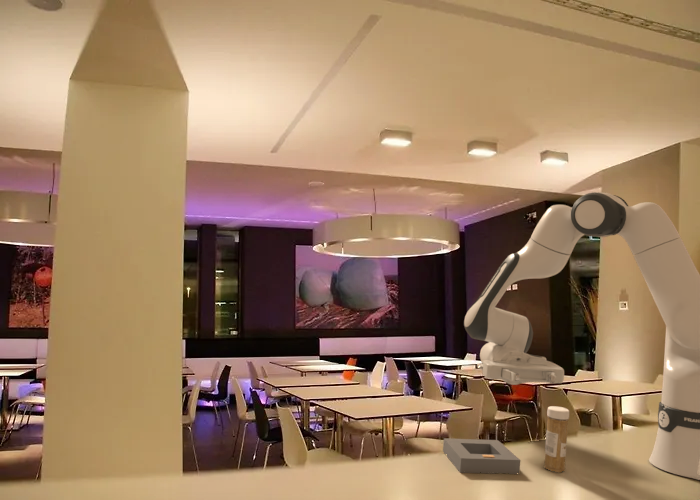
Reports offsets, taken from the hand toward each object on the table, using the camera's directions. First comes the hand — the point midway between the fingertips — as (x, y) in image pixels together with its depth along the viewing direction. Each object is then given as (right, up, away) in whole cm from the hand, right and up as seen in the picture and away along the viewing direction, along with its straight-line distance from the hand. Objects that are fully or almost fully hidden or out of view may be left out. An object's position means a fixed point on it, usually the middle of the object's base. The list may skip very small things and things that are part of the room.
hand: (535, 378), depth 144 cm
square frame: (-16, -16, -11) cm, 25 cm away
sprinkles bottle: (0, -17, -12) cm, 21 cm away
